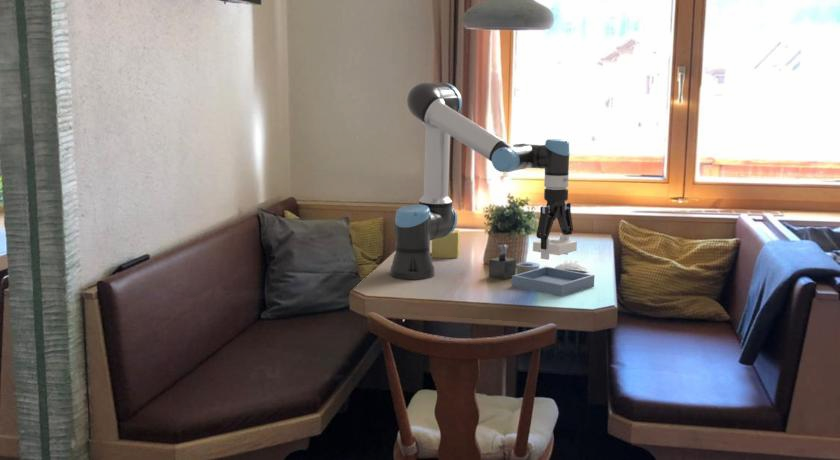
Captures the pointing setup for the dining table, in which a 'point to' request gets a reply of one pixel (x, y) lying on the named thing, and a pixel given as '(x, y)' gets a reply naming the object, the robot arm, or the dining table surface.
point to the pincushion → (571, 266)
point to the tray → (553, 281)
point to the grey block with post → (502, 265)
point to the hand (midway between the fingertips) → (554, 256)
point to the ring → (557, 246)
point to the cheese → (446, 246)
